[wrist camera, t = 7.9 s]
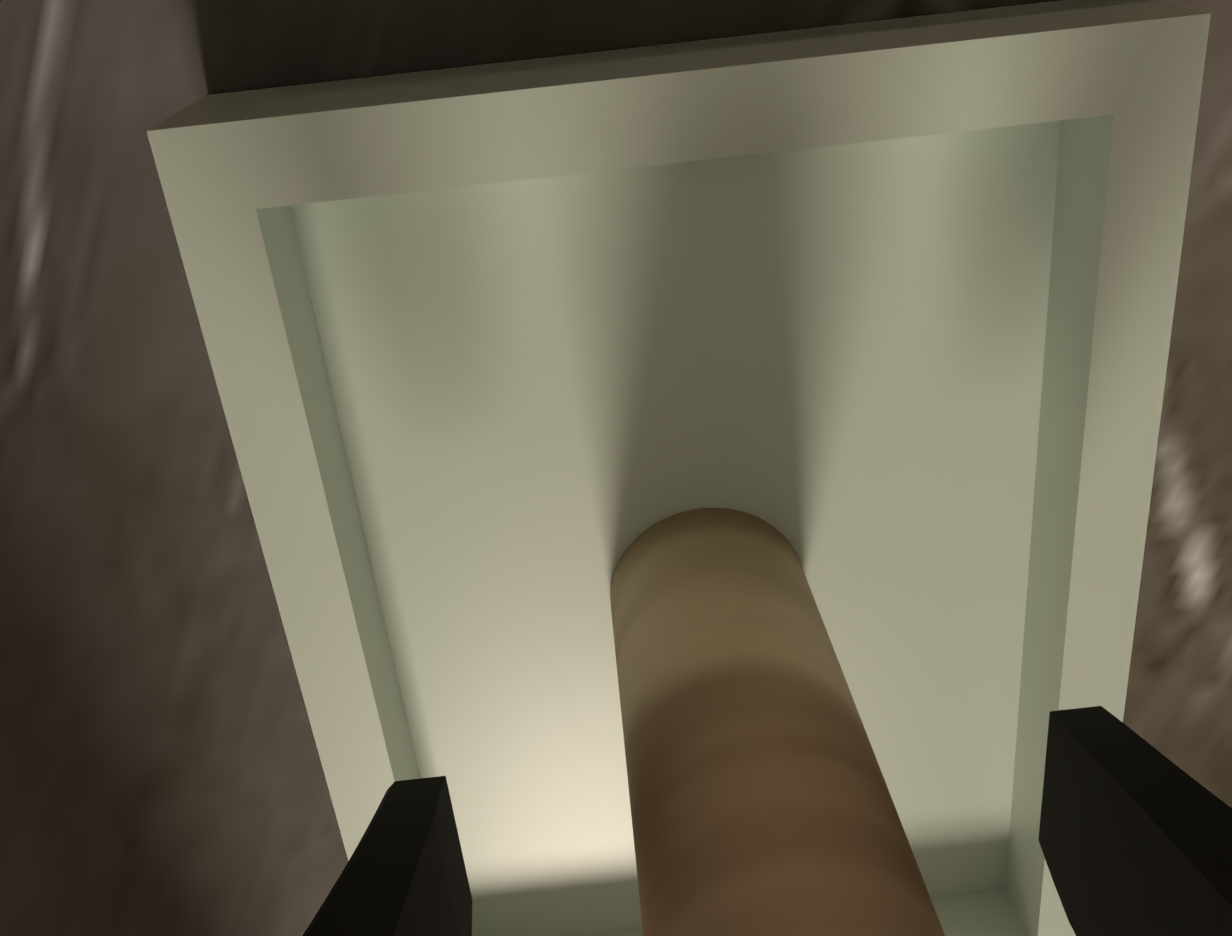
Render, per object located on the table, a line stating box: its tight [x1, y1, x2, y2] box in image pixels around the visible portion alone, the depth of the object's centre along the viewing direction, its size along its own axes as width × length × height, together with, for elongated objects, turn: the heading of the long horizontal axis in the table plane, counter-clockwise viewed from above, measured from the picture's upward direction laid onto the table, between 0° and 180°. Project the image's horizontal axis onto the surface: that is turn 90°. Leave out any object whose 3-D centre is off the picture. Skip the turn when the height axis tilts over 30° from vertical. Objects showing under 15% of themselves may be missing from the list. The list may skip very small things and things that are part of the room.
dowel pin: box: [610, 508, 945, 936], centre depth 14 cm, size 3×3×8 cm
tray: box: [147, 0, 1211, 936], centre depth 18 cm, size 16×12×2 cm
